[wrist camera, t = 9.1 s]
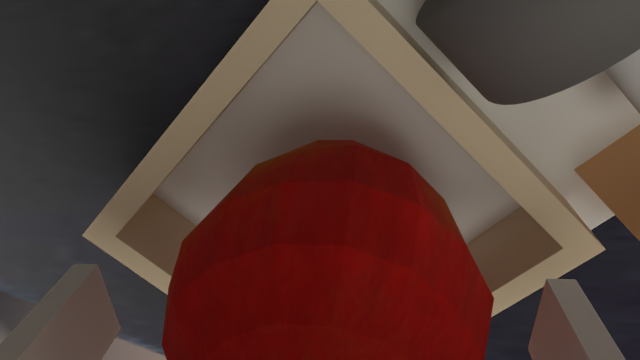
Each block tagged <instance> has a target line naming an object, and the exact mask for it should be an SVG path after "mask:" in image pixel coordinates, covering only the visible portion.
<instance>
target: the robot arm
mask: <svg viewBox="0 0 640 360" xmlns="http://www.w3.org/2000/svg"><path fill="white" fill-rule="evenodd" d="M120 330H121V328H120V325H119V322H118V320H117V317H116V314H115V311H114V309H113V306H112V303H111V300H110V297H109V295H108V292H107V289H106V286H105V284H104V281H103V278H102V275H101V272H100V270H99V267H98V264H74V265H73V266H72V267H71V268H70V269H69V270H68V271H67V272H66V273H65V274H64V275H63V277H62V278H61V279H60V280H59V281H58V282H57V283H56V284H55V285H54V286H53V287H52V288H51V290H50V291H49V292H48V293H47V294H46V295H45V296H44V297H43V298H42V299H41V300H40V301H39V303H38V304H37V305H36V306H35V307H34V308H33V309H32V310H31V311H30V312H29V313H28V314H27V316H26V317H25V318H24V319H23V320H22V321H21V322H20V323H19V324H18V325H17V326H16V327H15V329H14V330H13V331H12V332H11V333H10V334H9V335H8V336H7V337H6V338H5V339H4V340H3V342H2V343H1V344H0V360H101V359H102V357H103V355H104V354H105V353H106V351H107V350H108V348H109V347H110V345H111V344H112V342H113V340H114V339H115V337H116V336H117V334H118V333H119V331H120ZM528 350H529V353H530V355H531V358H532V360H625V358H624V356H623V355H622V353H621V351H620V350H619V348H618V347H617V345H616V343H615V342H614V340H613V339H612V337H611V335H610V334H609V332H608V331H607V329H606V327H605V326H604V324H603V323H602V321H601V319H600V318H599V316H598V314H597V313H596V311H595V310H594V308H593V306H592V305H591V303H590V302H589V300H588V298H587V297H586V295H585V294H584V292H583V290H582V289H581V287H580V286H579V284H578V282H577V281H576V280H575V279H546V282H545V285H544V289H543V293H542V297H541V301H540V304H539V308H538V312H537V316H536V320H535V323H534V327H533V331H532V335H531V338H530V342H529V346H528Z"/></svg>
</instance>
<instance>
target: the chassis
mask: <svg viewBox="0 0 640 360" xmlns="http://www.w3.org/2000/svg"><path fill="white" fill-rule="evenodd" d="M424 2H425V0H270V1H269V2H268V3H267V4H266V6H265V7H264V8H263V9H262V11H261V12H260V13H259V15H258V16H257V17H256V18H255V20H254V21H253V22H252V23H251V25H250V26H249V27H248V28H247V30H246V31H245V32H244V33H243V35H242V36H241V37H240V38H239V40H238V41H237V42H236V43H235V45H234V46H233V47H232V48H231V50H230V51H229V52H228V53H227V55H226V56H225V57H224V58H223V60H222V61H221V62H220V63H219V65H218V66H217V67H216V68H215V70H214V71H213V72H212V73H211V75H210V76H209V77H208V78H207V80H206V81H205V82H204V83H203V85H202V86H201V87H200V88H199V90H198V91H197V92H196V93H195V95H194V96H193V97H192V98H191V100H190V101H189V102H188V103H187V105H186V106H185V107H184V108H183V110H182V111H181V112H180V114H179V115H178V116H177V117H176V119H175V120H174V121H173V122H172V124H171V125H170V126H169V127H168V129H167V130H166V131H165V132H164V134H163V135H162V136H161V137H160V139H159V140H158V141H157V142H156V144H155V145H154V146H153V147H152V149H151V150H150V151H149V152H148V154H147V155H146V156H145V157H144V159H143V160H142V161H141V162H140V164H139V165H138V166H137V167H136V169H135V170H134V171H133V172H132V174H131V175H130V176H129V177H128V179H127V180H126V181H125V182H124V184H123V185H122V186H121V187H120V189H119V190H118V191H117V192H116V194H115V195H114V196H113V197H112V199H111V200H110V201H109V202H108V204H107V205H106V206H105V208H104V209H103V210H102V211H101V213H100V214H99V215H98V216H97V218H96V219H95V220H94V221H93V223H92V224H91V225H90V226H89V228H88V229H87V230H86V231H85V233H84V234H83V235H82V236H83V237H85V238H86V239H88V240H89V241H91V242H92V243H93V244H95V245H96V246H98V247H99V248H101V249H102V250H104V251H105V252H106V253H108V254H109V255H111V256H112V257H114V258H115V259H116V260H118V261H119V262H121V263H122V264H124V265H125V266H127V267H128V268H129V269H131V270H132V271H134V272H135V273H137V274H138V275H140V276H141V277H142V278H144V279H145V280H147V281H148V282H150V283H151V284H152V285H154V286H155V287H157V288H158V289H160V290H161V291H163V292H164V293H165V294H167V295H168V287H169V284H170V281H171V277H172V274H173V271H174V267H175V264H176V261H177V257H178V254H179V251H180V247H181V244H182V241H183V240H184V239H185V238H186V237H187V235H188V234H189V233H190V232H191V231H192V230H193V229H194V228H195V227H196V226H197V225H198V224H199V223H200V222H201V221H202V220H203V219H204V218H205V217H206V216H207V215H208V214H209V213H210V212H211V211H212V210H213V209H214V208H215V206H216V205H217V204H218V203H219V202H220V201H221V200H222V199H223V198H224V197H225V196H226V195H227V194H228V193H229V192H230V191H231V190H232V189H233V188H234V187H235V186H236V185H237V184H238V183H239V182H240V181H241V180H242V179H243V177H244V176H245V175H246V174H247V173H248V172H249V171H250V170H251V169H252V168H253V167H254V166H255V165H256V164H259V163H261V162H264V161H266V160H269V159H271V158H274V157H277V156H279V155H282V154H284V153H287V152H289V151H292V150H294V149H297V148H299V147H302V146H304V145H307V144H309V143H312V142H314V141H317V140H354V141H356V142H359V143H361V144H363V145H366V146H368V147H371V148H373V149H376V150H378V151H380V152H383V153H385V154H388V155H390V156H393V157H395V158H397V159H400V160H402V161H405V162H407V163H409V164H410V165H411V166H412V167H413V168H414V169H415V170H416V171H417V172H418V173H419V174H420V175H421V176H422V177H423V178H424V179H425V180H426V181H427V182H428V183H429V184H430V185H431V186H432V187H433V188H434V189H435V190H436V191H437V192H438V193H439V194H440V195H441V196H442V197H443V198H444V199H445V201H446V204H447V206H448V208H449V210H450V212H451V214H452V216H453V218H454V220H455V222H456V224H457V226H458V228H459V230H460V232H461V235H462V237H463V239H464V241H465V243H466V245H467V247H468V249H469V251H470V253H471V255H472V257H473V259H474V260H475V262H476V264H477V266H478V268H479V270H480V272H481V274H482V276H483V278H484V280H485V282H486V284H487V285H488V287H489V289H490V291H491V293H492V295H493V297H494V303H493V309H492V315H491V317H492V316H494V315H496V314H498V313H499V312H501V311H503V310H504V309H506V308H508V307H509V306H511V305H513V304H514V303H516V302H518V301H520V300H521V299H523V298H525V297H526V296H528V295H530V294H531V293H533V292H535V291H536V290H538V289H540V288H542V287H543V286H544V285H545V282H546V279H557V278H558V277H560V276H562V275H564V274H565V273H567V272H569V271H570V270H572V269H574V268H575V267H577V266H579V265H581V264H582V263H584V262H586V261H587V260H589V259H591V258H592V257H594V256H596V255H597V254H599V253H601V252H603V251H604V250H606V249H605V248H604V247H603V245H602V244H601V243H600V242H599V240H598V239H597V238H596V237H595V235H594V234H593V233H592V232H591V230H592V229H593V228H595V227H596V226H598V225H600V224H601V223H603V222H605V221H606V220H608V219H609V218H611V217H613V216H614V215H616V216H617V218H618V219H619V220H620V221H621V222H622V223H623V224H624V225H625V226H626V227H627V228H628V229H629V230H630V231H631V233H632V234H633V235H634V236H635V237H636V238H637V239H638V240H639V241H640V114H639V112H638V111H637V110H636V109H635V108H634V106H633V105H632V104H631V103H630V101H629V100H628V99H627V98H626V96H625V95H624V94H623V93H622V92H621V90H620V89H619V88H618V87H617V85H616V84H615V83H614V82H613V81H612V79H611V78H610V77H609V76H608V74H607V73H606V72H605V71H603V72H601V73H599V74H597V75H595V76H593V77H591V78H589V79H587V80H585V81H583V82H581V83H579V84H577V85H574V86H572V87H570V88H568V89H565V90H563V91H561V92H558V93H555V94H553V95H550V96H547V97H545V98H541V99H538V100H534V101H531V102H527V103H521V104H515V105H500V104H494V103H492V102H489V101H488V100H487V99H485V98H484V97H483V96H482V95H481V94H480V92H479V91H478V90H477V89H476V88H475V87H474V86H473V85H472V84H471V83H470V82H469V81H468V80H467V79H466V78H465V76H464V75H463V74H462V73H461V72H460V71H459V70H458V69H457V68H456V67H455V66H454V65H453V64H452V63H451V61H450V60H449V59H448V58H447V57H446V56H445V55H444V54H443V53H442V52H441V51H440V50H439V49H438V48H437V46H436V45H435V44H434V43H433V42H432V41H431V40H430V39H429V38H428V37H427V36H426V35H425V34H424V33H423V32H422V30H421V29H420V28H419V27H418V26H417V25H416V17H417V15H418V12H419V10H420V9H421V7H422V5H423V4H424Z"/></svg>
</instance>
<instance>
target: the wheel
mask: <svg viewBox="0 0 640 360" xmlns="http://www.w3.org/2000/svg"><path fill="white" fill-rule="evenodd" d="M416 25H417V26H418V27H419V28H420V29H421V30H422V32H423V33H424V34H425V35H426V36H427V37H428V38H429V39H430V40H431V41H432V42H433V43H434V44H435V45H436V46H437V48H438V49H439V50H440V51H441V52H442V53H443V54H444V55H445V56H446V57H447V58H448V59H449V60H450V61H451V63H452V64H453V65H454V66H455V67H456V68H457V69H458V70H459V71H460V72H461V73H462V74H463V75H464V76H465V78H466V79H467V80H468V81H469V82H470V83H471V84H472V85H473V86H474V87H475V88H476V89H477V90H478V91H479V92H480V94H481V95H482V96H483V97H484V98H485V99H487V100H488V101H489V102H492V103H494V104H500V105H515V104H521V103H527V102H531V101H534V100H538V99H541V98H545V97H547V96H550V95H553V94H555V93H558V92H561V91H563V90H565V89H568V88H570V87H572V86H574V85H577V84H579V83H581V82H583V81H585V80H587V79H589V78H591V77H593V76H595V75H597V74H599V73H601V72H603V71H605V72H606V73H607V74H608V76H609V77H610V78H611V79H612V81H613V82H614V83H615V84H616V85H617V87H618V88H619V89H620V90H621V92H622V93H623V94H624V95H625V96H626V98H627V99H628V100H629V101H630V103H631V104H632V105H633V106H634V108H635V109H636V110H637V111H638V112H639V114H640V0H425V2H424V4H423V5H422V7H421V9H420V10H419V12H418V15H417V17H416Z"/></svg>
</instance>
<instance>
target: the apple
mask: <svg viewBox="0 0 640 360" xmlns="http://www.w3.org/2000/svg"><path fill="white" fill-rule="evenodd" d="M493 303H494V297H493V295H492V293H491V291H490V289H489V287H488V285H487V284H486V282H485V280H484V278H483V276H482V274H481V272H480V270H479V268H478V266H477V264H476V262H475V260H474V259H473V257H472V255H471V253H470V251H469V249H468V247H467V245H466V243H465V241H464V239H463V237H462V235H461V232H460V230H459V228H458V226H457V224H456V222H455V220H454V218H453V216H452V214H451V212H450V210H449V208H448V206H447V204H446V201H445V199H444V198H443V197H442V196H441V195H440V194H439V193H438V192H437V191H436V190H435V189H434V188H433V187H432V186H431V185H430V184H429V183H428V182H427V181H426V180H425V179H424V178H423V177H422V176H421V175H420V174H419V173H418V172H417V171H416V170H415V169H414V168H413V167H412V166H411V165H410V164H409V163H407V162H405V161H402V160H400V159H397V158H395V157H393V156H390V155H388V154H385V153H383V152H380V151H378V150H376V149H373V148H371V147H368V146H366V145H363V144H361V143H359V142H356V141H354V140H317V141H314V142H312V143H309V144H307V145H304V146H302V147H299V148H297V149H294V150H292V151H289V152H287V153H284V154H282V155H279V156H277V157H274V158H271V159H269V160H266V161H264V162H261V163H259V164H256V165H255V166H254V167H253V168H252V169H251V170H250V171H249V172H248V173H247V174H246V175H245V176H244V177H243V179H242V180H241V181H240V182H239V183H238V184H237V185H236V186H235V187H234V188H233V189H232V190H231V191H230V192H229V193H228V194H227V195H226V196H225V197H224V198H223V199H222V200H221V201H220V202H219V203H218V204H217V205H216V206H215V208H214V209H213V210H212V211H211V212H210V213H209V214H208V215H207V216H206V217H205V218H204V219H203V220H202V221H201V222H200V223H199V224H198V225H197V226H196V227H195V228H194V229H193V230H192V231H191V232H190V233H189V234H188V235H187V237H186V238H185V239H184V240H183V241H182V244H181V247H180V251H179V254H178V257H177V261H176V264H175V267H174V271H173V274H172V277H171V281H170V284H169V287H168V296H167V305H166V314H165V322H164V331H163V340H162V346H163V350H164V353H165V356H166V359H167V360H484V359H485V352H486V346H487V340H488V334H489V328H490V321H491V315H492V309H493Z"/></svg>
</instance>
